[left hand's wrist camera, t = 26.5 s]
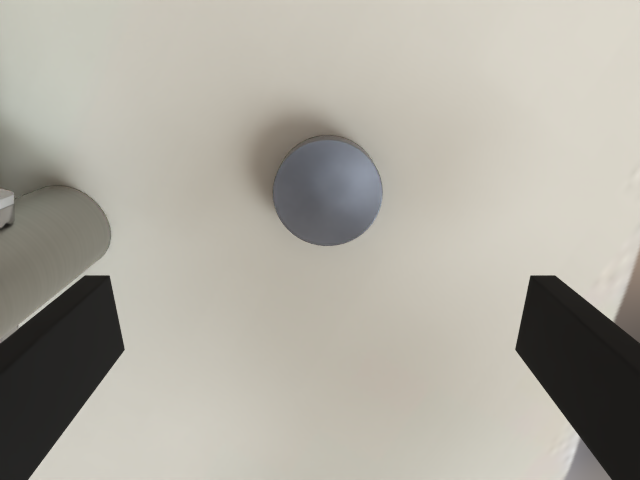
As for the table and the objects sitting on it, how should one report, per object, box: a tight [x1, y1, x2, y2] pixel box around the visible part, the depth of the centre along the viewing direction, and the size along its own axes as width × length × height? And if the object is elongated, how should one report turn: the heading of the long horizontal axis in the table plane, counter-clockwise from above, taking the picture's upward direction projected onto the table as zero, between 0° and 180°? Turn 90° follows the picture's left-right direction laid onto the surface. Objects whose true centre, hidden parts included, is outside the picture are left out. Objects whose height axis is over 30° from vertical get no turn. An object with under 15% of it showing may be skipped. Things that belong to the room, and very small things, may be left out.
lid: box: [273, 135, 383, 246], centre depth 24 cm, size 6×6×2 cm
